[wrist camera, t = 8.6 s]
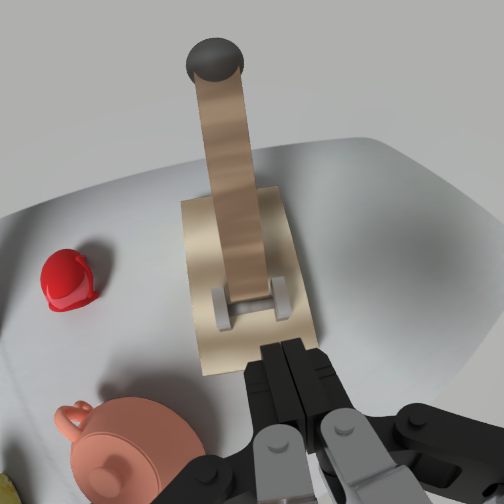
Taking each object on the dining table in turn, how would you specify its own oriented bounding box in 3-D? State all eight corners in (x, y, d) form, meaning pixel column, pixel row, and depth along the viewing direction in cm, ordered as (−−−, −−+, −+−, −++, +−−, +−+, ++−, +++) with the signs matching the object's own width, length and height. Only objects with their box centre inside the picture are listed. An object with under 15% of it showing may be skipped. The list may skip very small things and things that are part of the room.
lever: (277, 298, 23) (242, 27, 16) (225, 308, 23) (180, 35, 16) (268, 275, 27) (237, 43, 20) (222, 284, 27) (185, 51, 19)
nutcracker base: (313, 356, 28) (329, 350, 22) (207, 375, 27) (196, 375, 21) (274, 196, 34) (278, 161, 29) (185, 211, 34) (173, 178, 28)
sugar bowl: (166, 525, 20) (133, 573, 11) (64, 437, 23) (3, 448, 14) (237, 450, 24) (229, 485, 15) (123, 359, 27) (69, 347, 18)
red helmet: (98, 312, 26) (86, 248, 25) (41, 321, 23) (28, 258, 22) (100, 293, 33) (92, 243, 32) (54, 301, 31) (45, 250, 30)
